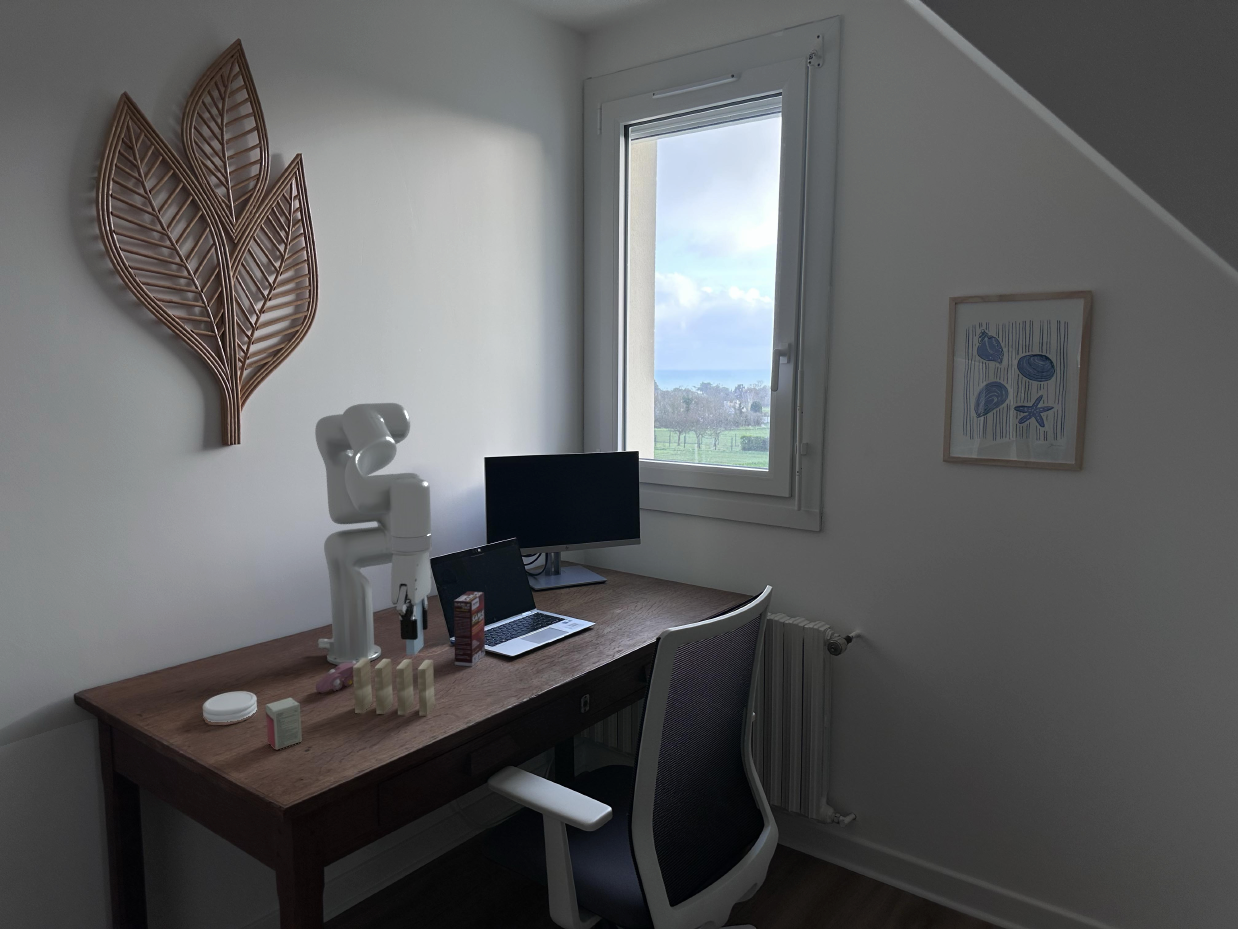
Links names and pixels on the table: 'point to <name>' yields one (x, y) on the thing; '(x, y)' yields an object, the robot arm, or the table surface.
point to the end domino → (417, 644)
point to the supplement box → (469, 628)
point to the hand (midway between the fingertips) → (414, 633)
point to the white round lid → (230, 706)
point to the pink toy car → (337, 677)
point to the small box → (283, 723)
